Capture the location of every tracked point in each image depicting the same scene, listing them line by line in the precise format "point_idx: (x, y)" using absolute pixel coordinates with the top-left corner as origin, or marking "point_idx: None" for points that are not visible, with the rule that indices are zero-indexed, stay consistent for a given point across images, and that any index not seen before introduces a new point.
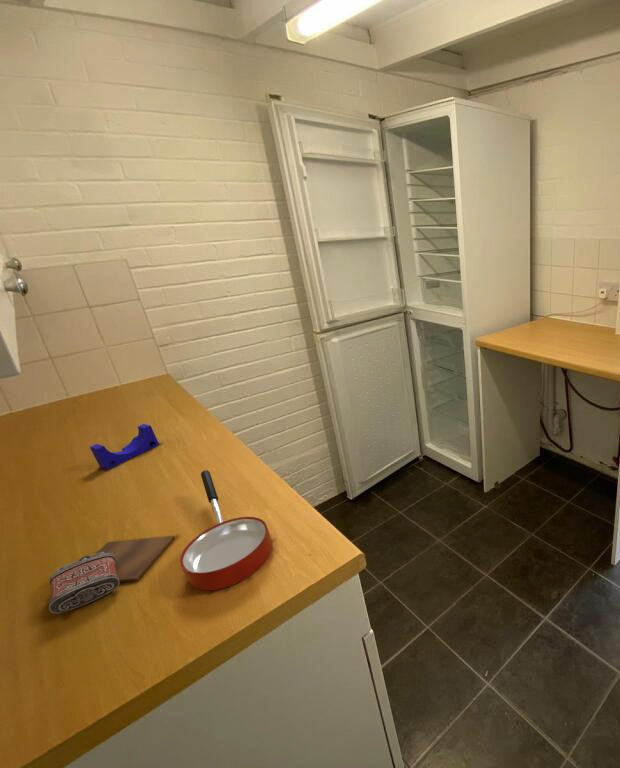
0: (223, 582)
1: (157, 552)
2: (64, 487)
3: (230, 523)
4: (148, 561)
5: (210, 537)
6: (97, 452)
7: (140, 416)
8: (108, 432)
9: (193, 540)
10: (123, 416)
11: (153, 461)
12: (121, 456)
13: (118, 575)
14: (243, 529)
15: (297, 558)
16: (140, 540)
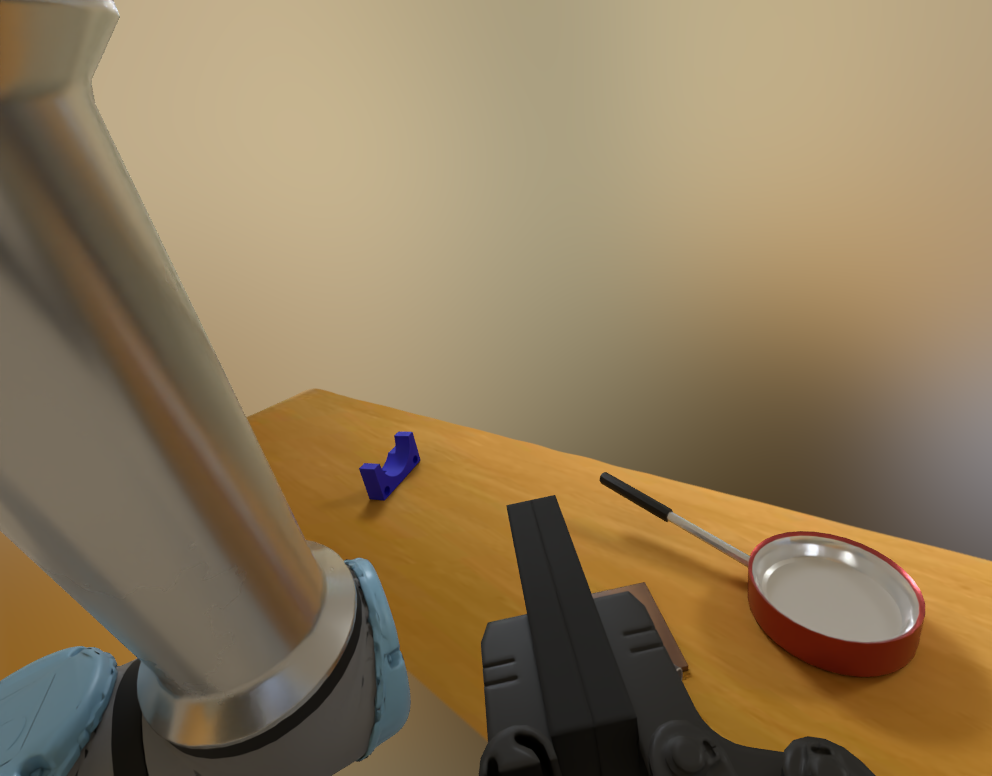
0: (907, 657)
1: (658, 613)
2: (347, 531)
3: (768, 547)
4: (664, 631)
5: (758, 575)
6: (373, 474)
7: (346, 432)
8: (324, 456)
9: (753, 582)
10: (322, 436)
11: (441, 481)
12: (393, 479)
13: None
14: (787, 556)
15: (951, 597)
16: (594, 596)
